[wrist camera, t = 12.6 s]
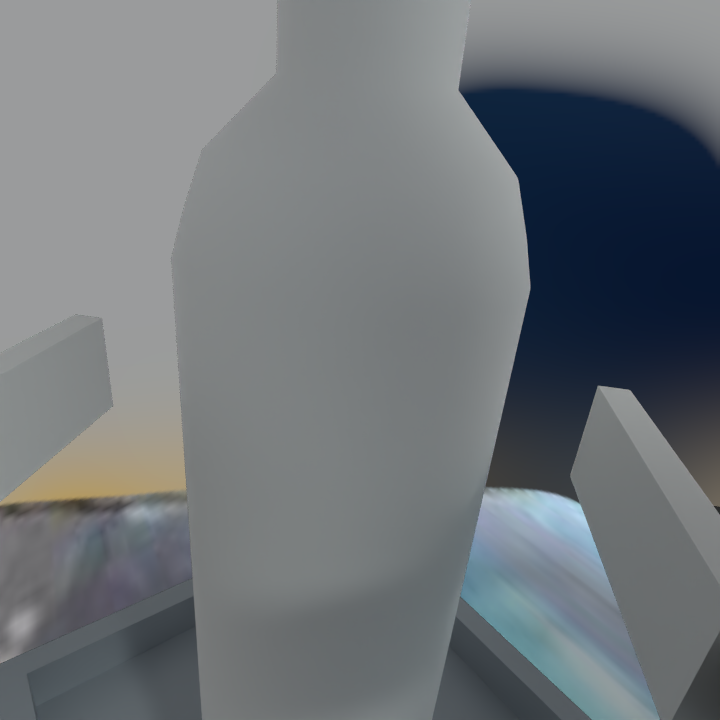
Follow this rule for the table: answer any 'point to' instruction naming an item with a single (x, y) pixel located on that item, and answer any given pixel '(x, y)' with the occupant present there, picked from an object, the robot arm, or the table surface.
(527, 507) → the table surface
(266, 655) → the bottle
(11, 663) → the tray
